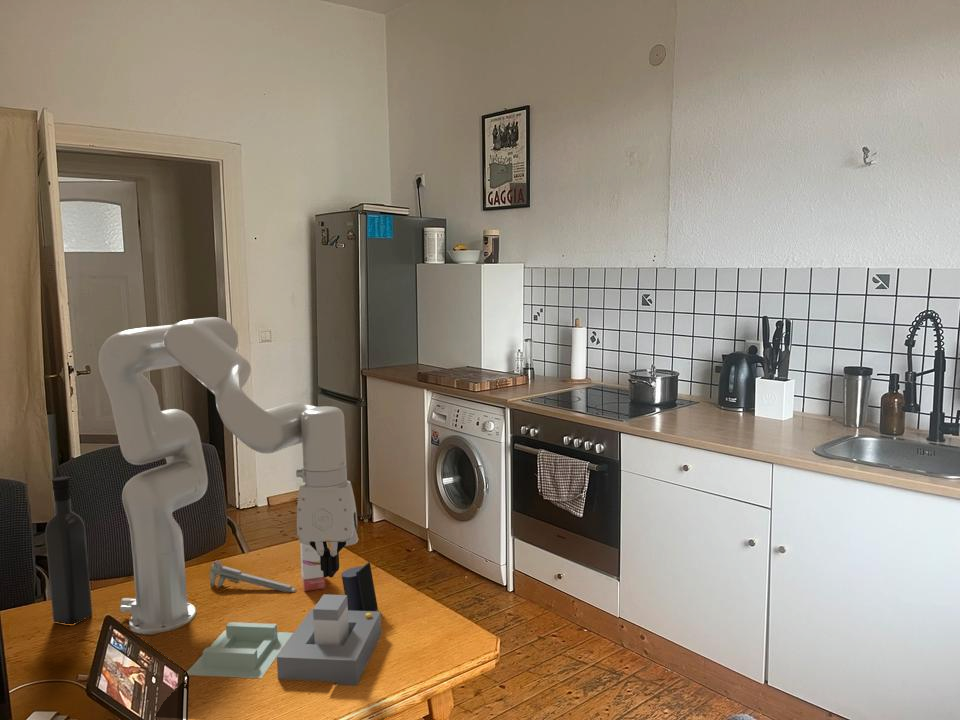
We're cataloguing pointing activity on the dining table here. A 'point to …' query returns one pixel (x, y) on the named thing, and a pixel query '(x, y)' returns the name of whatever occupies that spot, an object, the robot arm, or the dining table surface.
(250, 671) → the pale green cradle tray
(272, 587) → the caliper
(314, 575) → the ink cartridge box
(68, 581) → the wine bottle
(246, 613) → the dining table surface
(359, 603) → the speaker
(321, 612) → the plug
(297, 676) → the block
